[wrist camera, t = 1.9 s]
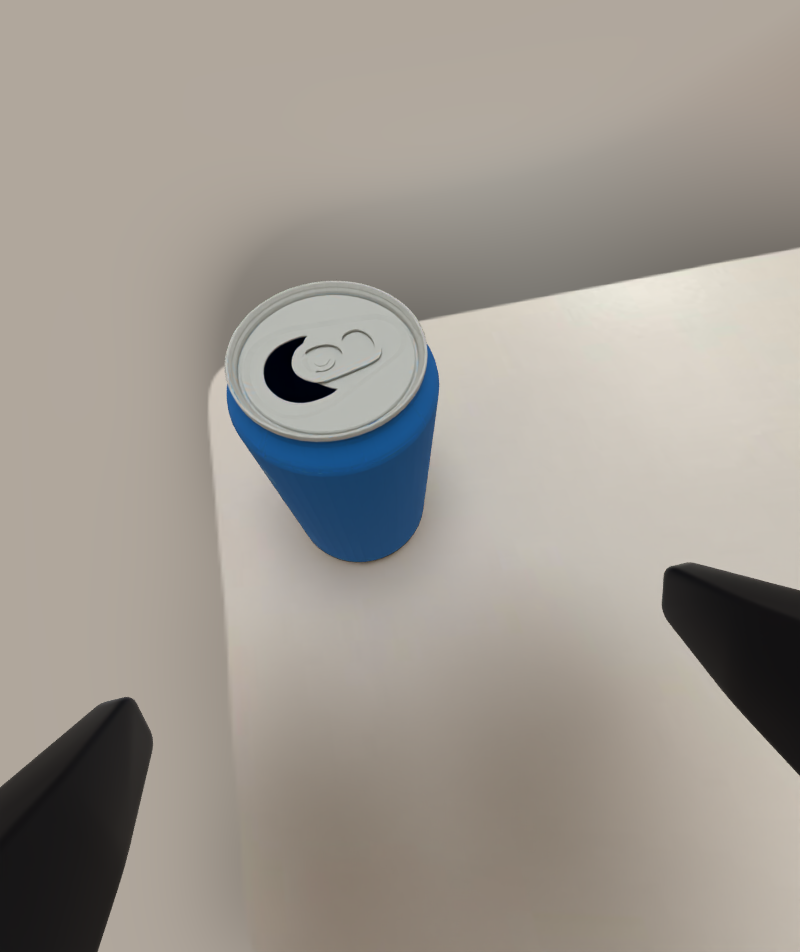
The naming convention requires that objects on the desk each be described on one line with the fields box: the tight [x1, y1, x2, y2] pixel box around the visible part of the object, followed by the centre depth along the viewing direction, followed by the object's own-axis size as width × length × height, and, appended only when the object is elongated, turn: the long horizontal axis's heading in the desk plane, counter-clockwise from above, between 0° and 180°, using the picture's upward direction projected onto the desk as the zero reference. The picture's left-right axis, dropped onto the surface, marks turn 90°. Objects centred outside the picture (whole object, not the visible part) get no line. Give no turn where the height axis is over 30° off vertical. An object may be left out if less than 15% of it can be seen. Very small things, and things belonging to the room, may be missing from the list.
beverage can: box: [225, 281, 439, 562], centre depth 17 cm, size 6×6×12 cm
